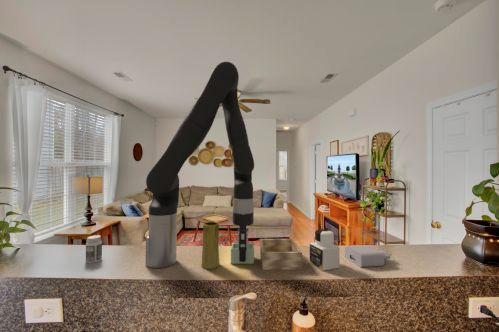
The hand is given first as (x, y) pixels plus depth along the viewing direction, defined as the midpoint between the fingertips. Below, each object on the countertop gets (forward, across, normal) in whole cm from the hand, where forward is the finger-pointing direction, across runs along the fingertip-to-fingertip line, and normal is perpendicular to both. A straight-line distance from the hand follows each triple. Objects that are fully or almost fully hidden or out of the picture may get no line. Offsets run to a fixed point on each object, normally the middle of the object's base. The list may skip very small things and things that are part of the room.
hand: (242, 257), depth 80 cm
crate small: (+1, 0, 0) cm, 1 cm away
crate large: (+1, 0, +13) cm, 13 cm away
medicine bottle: (+1, +4, +28) cm, 28 cm away
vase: (+1, +4, -11) cm, 12 cm away
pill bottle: (+2, 0, -53) cm, 53 cm away
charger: (+1, 0, +47) cm, 47 cm away
